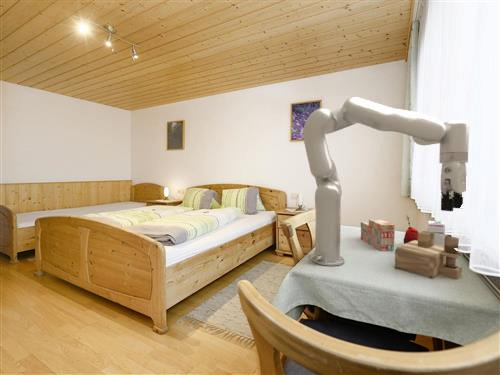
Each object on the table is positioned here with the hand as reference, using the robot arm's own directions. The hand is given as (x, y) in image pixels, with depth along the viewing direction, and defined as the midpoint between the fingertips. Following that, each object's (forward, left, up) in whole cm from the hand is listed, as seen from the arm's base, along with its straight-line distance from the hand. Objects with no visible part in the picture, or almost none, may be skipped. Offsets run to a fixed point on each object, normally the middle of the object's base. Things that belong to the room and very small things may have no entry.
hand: (452, 209), depth 87 cm
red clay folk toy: (+27, +22, -23) cm, 42 cm away
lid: (0, +6, -17) cm, 18 cm away
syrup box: (+19, +10, -23) cm, 31 cm away
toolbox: (0, +6, -23) cm, 23 cm away
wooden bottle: (0, 0, -23) cm, 23 cm away
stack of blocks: (+17, +35, -23) cm, 45 cm away
